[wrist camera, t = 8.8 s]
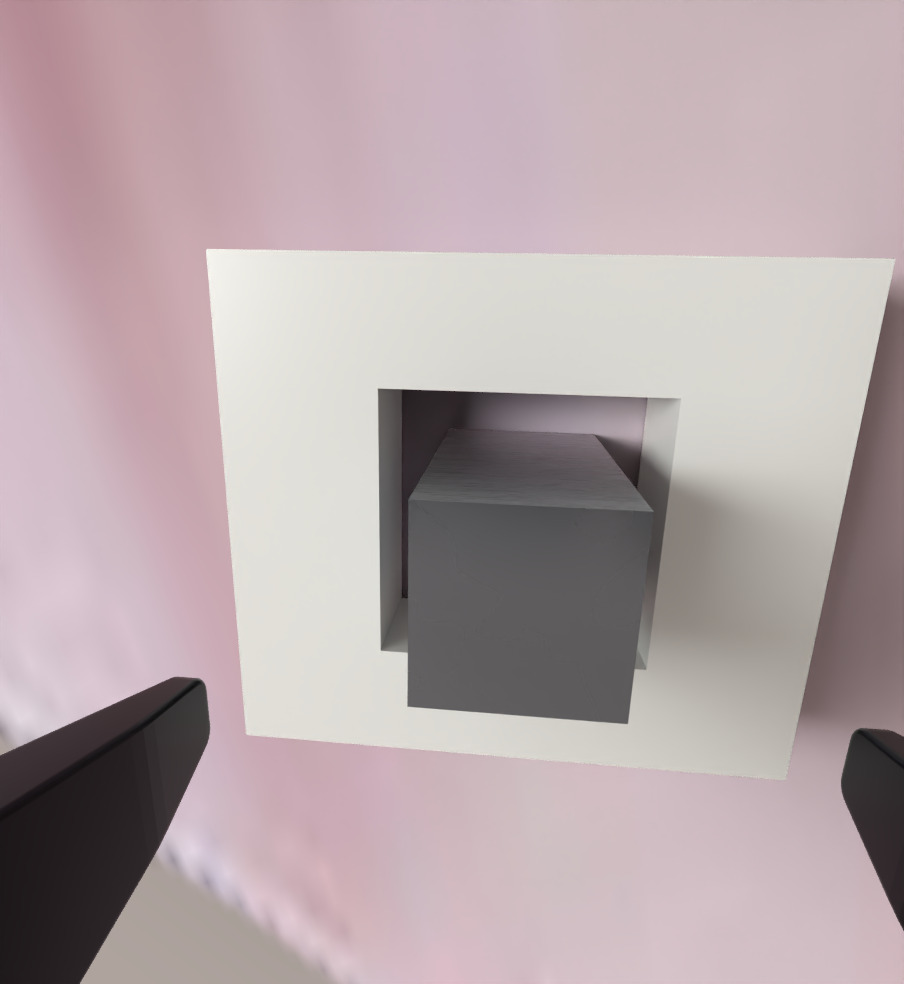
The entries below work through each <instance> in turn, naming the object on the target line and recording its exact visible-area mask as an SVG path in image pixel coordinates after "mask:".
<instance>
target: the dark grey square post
mask: <svg viewBox="0 0 904 984" xmlns="http://www.w3.org/2000/svg"><path fill="white" fill-rule="evenodd" d="M653 514H654V511H653V510H652V509H651V507H650V506H649V505H648V504H647V502H646V501H645V500H644V498H643V497H642V496H641V495H640V493H639V492H638V491H637V489H636V488H635V487H634V485H633V484H632V483H631V482H630V480H629V479H628V478H627V476H626V475H625V474H624V473H623V471H622V470H621V469H620V467H619V466H618V465H617V463H616V462H615V461H614V460H613V458H612V457H611V456H610V454H609V453H608V452H607V451H606V449H605V448H604V447H603V445H602V444H601V443H600V441H599V440H598V439H597V438H596V436H595V435H594V434H571V433H546V432H521V431H496V430H471V429H449V431H448V432H447V434H446V436H445V438H444V439H443V441H442V443H441V444H440V446H439V448H438V450H437V451H436V453H435V455H434V456H433V458H432V460H431V462H430V463H429V465H428V467H427V468H426V470H425V472H424V474H423V475H422V477H421V479H420V480H419V482H418V484H417V486H416V487H415V489H414V491H413V492H412V494H411V496H410V498H409V499H408V691H407V707H416V708H429V709H441V710H454V711H467V712H479V713H492V714H505V715H517V716H530V717H542V718H555V719H568V720H580V721H593V722H606V723H618V724H628V720H629V712H630V703H631V695H632V687H633V679H634V671H635V662H636V654H637V646H638V638H639V629H640V621H641V613H642V605H643V597H644V588H645V580H646V572H647V564H648V556H649V547H650V539H651V531H652V523H653Z"/></svg>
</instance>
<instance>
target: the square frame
mask: <svg viewBox="0 0 904 984" xmlns="http://www.w3.org/2000/svg"><path fill="white" fill-rule="evenodd" d="M206 255H207V267H208V279H209V291H210V303H211V315H212V327H213V339H214V351H215V363H216V376H217V388H218V400H219V412H220V424H221V436H222V448H223V460H224V472H225V484H226V496H227V509H228V521H229V533H230V545H231V557H232V569H233V581H234V593H235V605H236V617H237V629H238V641H239V654H240V666H241V678H242V690H243V702H244V714H245V726H246V735H255V736H266V737H278V738H290V739H302V740H313V741H325V742H337V743H349V744H361V745H372V746H384V747H396V748H408V749H419V750H431V751H443V752H455V753H467V754H478V755H490V756H502V757H514V758H525V759H537V760H549V761H561V762H573V763H584V764H596V765H608V766H620V767H631V768H643V769H655V770H667V771H679V772H690V773H702V774H714V775H726V776H738V777H749V778H761V779H773V780H785V781H786V776H787V772H788V767H789V762H790V757H791V753H792V748H793V743H794V738H795V734H796V729H797V724H798V719H799V715H800V710H801V705H802V700H803V696H804V691H805V686H806V681H807V677H808V672H809V667H810V662H811V658H812V653H813V648H814V643H815V639H816V634H817V629H818V624H819V620H820V615H821V610H822V605H823V601H824V596H825V591H826V586H827V582H828V577H829V572H830V567H831V563H832V558H833V553H834V548H835V544H836V539H837V534H838V529H839V525H840V520H841V515H842V510H843V506H844V501H845V496H846V491H847V487H848V482H849V477H850V472H851V468H852V463H853V458H854V453H855V449H856V444H857V439H858V434H859V430H860V425H861V420H862V415H863V411H864V406H865V401H866V396H867V392H868V387H869V382H870V377H871V373H872V368H873V363H874V358H875V354H876V349H877V344H878V339H879V335H880V330H881V325H882V320H883V316H884V311H885V306H886V301H887V297H888V292H889V287H890V282H891V278H892V273H893V268H894V263H895V259H883V258H811V257H739V256H667V255H595V254H523V253H451V252H379V251H307V250H235V249H206ZM402 389H410V390H440V391H469V392H499V393H529V394H559V395H589V396H618V397H648V398H647V407H646V416H645V425H644V434H643V443H642V452H641V461H640V470H639V478H638V487H637V491H638V492H639V493H640V495H641V496H642V497H643V498H644V500H645V501H646V502H647V504H648V505H649V506H650V507H651V509H652V510H653V511H654V514H653V523H652V531H651V539H650V547H649V556H648V564H647V572H646V580H645V588H644V597H643V605H642V613H641V621H640V629H639V638H638V646H637V654H636V662H635V671H634V679H633V687H632V695H631V703H630V712H629V720H628V724H618V723H606V722H593V721H580V720H568V719H555V718H542V717H530V716H517V715H505V714H492V713H479V712H467V711H454V710H441V709H429V708H416V707H407V691H408V598H402Z"/></svg>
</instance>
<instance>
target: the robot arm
mask: <svg viewBox="0 0 904 984" xmlns="http://www.w3.org/2000/svg"><path fill="white" fill-rule="evenodd" d="M209 735H210V721H209V711H208V701H207V691H206V686H205V683H204V682H203V681H202V680H201V679H199V678H187V677H173V678H170V679H168V680H166V681H164V682H161V683H159V684H157V685H155V686H153V687H150V688H148V689H146V690H144V691H142V692H139V693H137V694H135V695H133V696H130V697H128V698H126V699H124V700H122V701H119V702H117V703H115V704H113V705H111V706H108V707H106V708H104V709H102V710H100V711H97V712H95V713H93V714H91V715H88V716H86V717H84V718H82V719H80V720H77V721H75V722H73V723H71V724H69V725H66V726H64V727H62V728H60V729H58V730H55V731H53V732H51V733H49V734H46V735H44V736H42V737H40V738H38V739H35V740H33V741H31V742H29V743H27V744H24V745H22V746H20V747H18V748H16V749H13V750H11V751H9V752H7V753H5V754H2V755H0V984H80V982H81V980H82V979H83V977H84V975H85V974H86V972H87V970H88V969H89V967H90V965H91V964H92V962H93V960H94V958H95V957H96V955H97V953H98V952H99V950H100V948H101V946H102V945H103V943H104V941H105V940H106V938H107V936H108V934H109V932H110V931H111V929H112V928H113V926H114V924H115V922H116V921H117V919H118V917H119V915H120V914H121V912H122V910H123V909H124V907H125V905H126V903H127V902H128V900H129V898H130V897H131V895H132V893H133V892H134V890H135V888H136V886H137V885H138V883H139V881H140V880H141V878H142V876H143V874H144V873H145V871H146V869H147V867H148V866H149V864H150V862H151V861H152V859H153V857H154V855H155V853H156V852H157V850H158V848H159V846H160V844H161V842H162V840H163V838H164V836H165V834H166V832H167V830H168V828H169V826H170V824H171V821H172V819H173V817H174V815H175V813H176V811H177V808H178V806H179V804H180V802H181V800H182V798H183V795H184V793H185V791H186V789H187V787H188V785H189V782H190V780H191V778H192V776H193V774H194V772H195V769H196V767H197V765H198V763H199V761H200V759H201V756H202V754H203V752H204V750H205V748H206V745H207V743H208V739H209ZM841 789H842V794H843V798H844V800H845V803H846V805H847V807H848V810H849V812H850V814H851V816H852V819H853V821H854V823H855V825H856V828H857V830H858V832H859V834H860V837H861V839H862V841H863V843H864V846H865V848H866V850H867V852H868V855H869V857H870V859H871V862H872V864H873V866H874V868H875V871H876V873H877V875H878V877H879V880H880V882H881V884H882V886H883V889H884V891H885V893H886V895H887V898H888V900H889V902H890V904H891V906H892V908H893V910H894V912H895V915H896V917H897V919H898V921H899V923H900V924H901V926H902V928H903V930H904V737H903V736H901V735H899V734H897V733H895V732H893V731H890V730H881V729H867V728H860V729H858V730H856V731H855V732H854V733H853V734H852V737H851V740H850V744H849V748H848V752H847V756H846V761H845V765H844V769H843V773H842V778H841Z"/></svg>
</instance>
